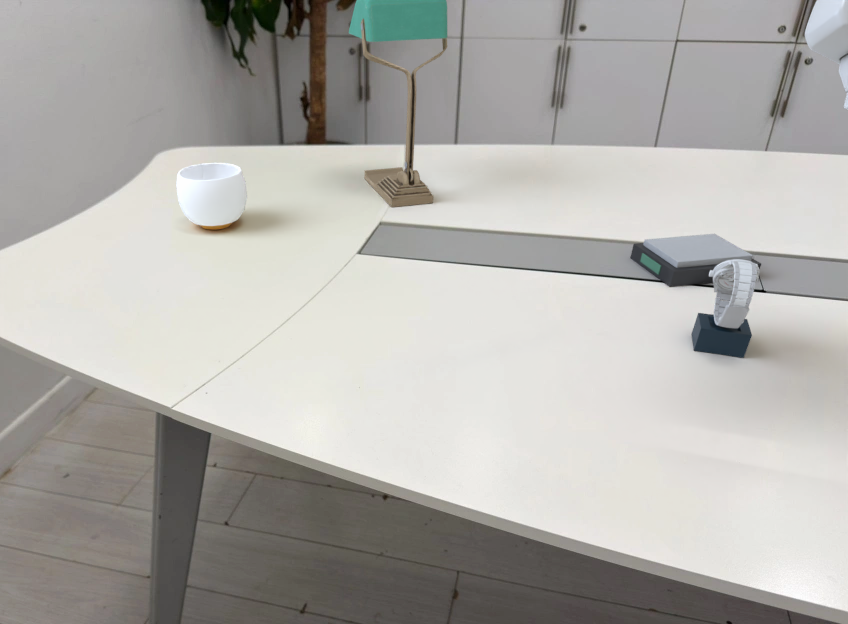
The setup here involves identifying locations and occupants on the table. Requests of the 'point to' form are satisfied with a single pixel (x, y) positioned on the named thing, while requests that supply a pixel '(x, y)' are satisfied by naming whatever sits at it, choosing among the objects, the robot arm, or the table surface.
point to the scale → (686, 257)
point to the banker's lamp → (407, 20)
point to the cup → (212, 194)
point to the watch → (727, 310)
